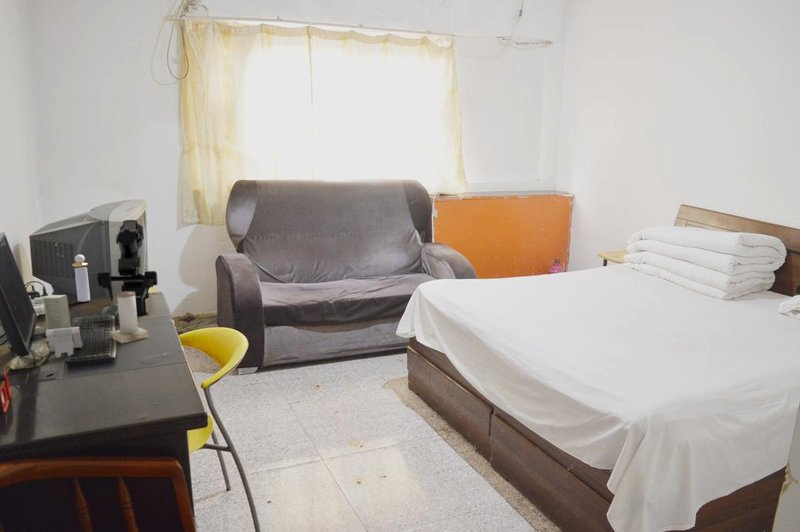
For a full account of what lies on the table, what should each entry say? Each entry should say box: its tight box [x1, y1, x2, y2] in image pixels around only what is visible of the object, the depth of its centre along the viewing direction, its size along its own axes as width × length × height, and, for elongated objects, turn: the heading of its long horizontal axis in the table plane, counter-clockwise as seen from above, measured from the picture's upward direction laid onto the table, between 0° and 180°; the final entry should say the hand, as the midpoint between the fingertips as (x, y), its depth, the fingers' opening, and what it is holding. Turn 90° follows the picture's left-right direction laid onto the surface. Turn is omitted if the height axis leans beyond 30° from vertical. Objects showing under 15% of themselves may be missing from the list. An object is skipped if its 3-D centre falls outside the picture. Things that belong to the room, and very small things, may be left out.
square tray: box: [109, 326, 150, 344], centre depth 197 cm, size 9×9×2 cm
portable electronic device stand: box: [45, 326, 84, 358], centre depth 181 cm, size 9×8×8 cm
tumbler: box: [116, 291, 139, 333], centre depth 195 cm, size 6×6×13 cm
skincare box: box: [42, 294, 72, 330], centre depth 205 cm, size 6×4×12 cm
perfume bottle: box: [71, 254, 91, 302], centre depth 243 cm, size 6×6×20 cm
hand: (126, 299), depth 200 cm, fingers open, 9 cm apart
